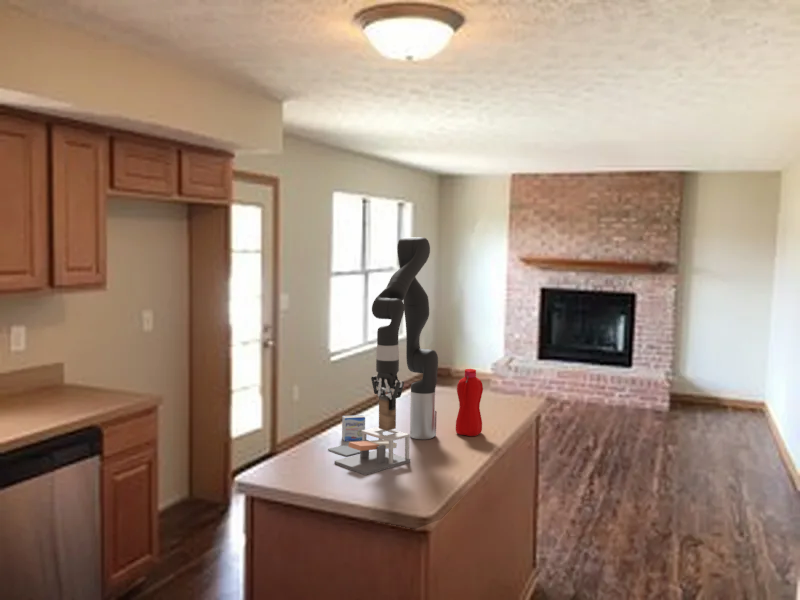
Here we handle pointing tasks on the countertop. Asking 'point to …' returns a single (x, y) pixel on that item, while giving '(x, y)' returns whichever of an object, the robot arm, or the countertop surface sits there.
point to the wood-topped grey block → (386, 414)
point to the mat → (344, 450)
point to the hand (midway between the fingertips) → (387, 408)
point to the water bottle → (469, 404)
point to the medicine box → (352, 427)
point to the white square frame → (377, 453)
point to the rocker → (370, 444)
